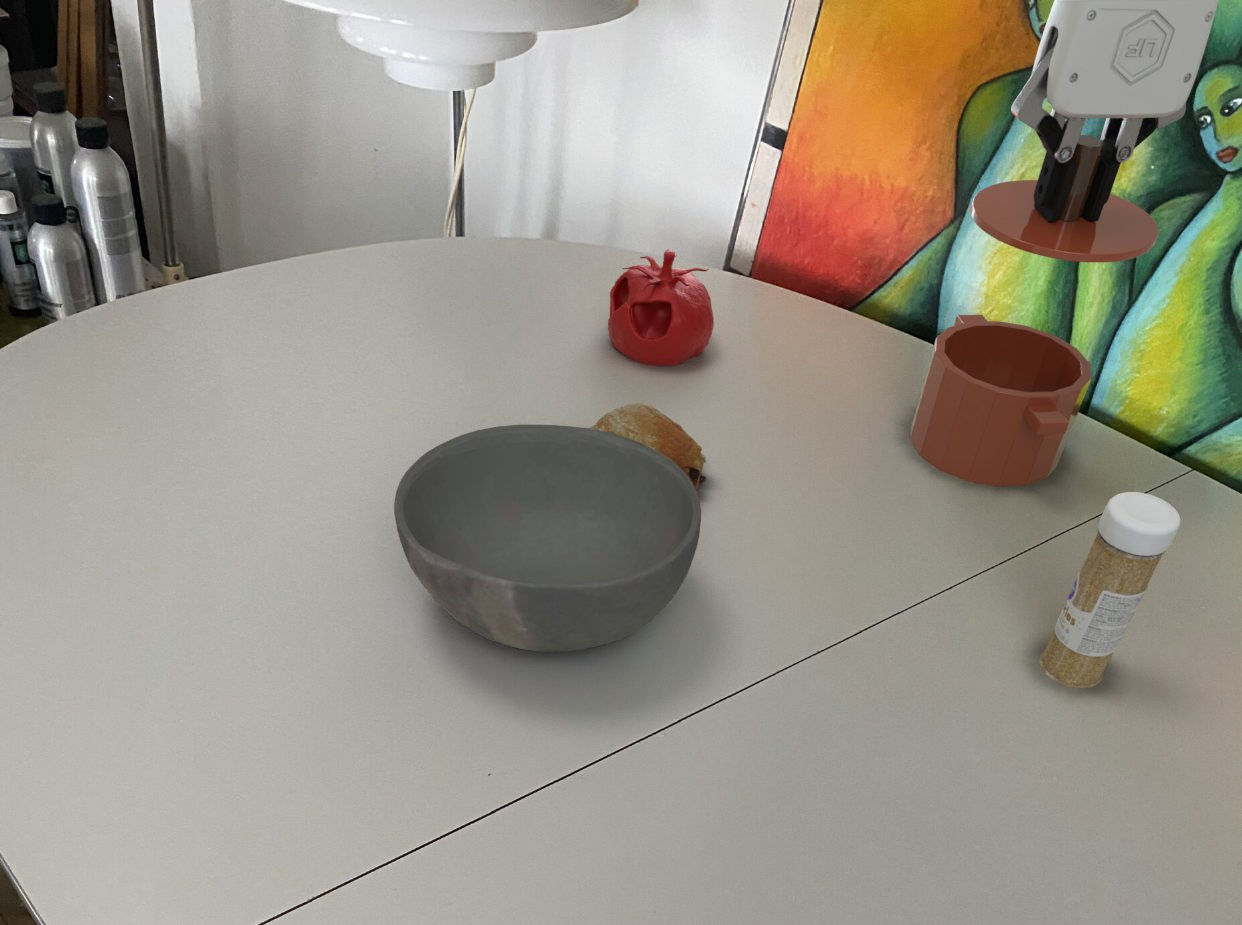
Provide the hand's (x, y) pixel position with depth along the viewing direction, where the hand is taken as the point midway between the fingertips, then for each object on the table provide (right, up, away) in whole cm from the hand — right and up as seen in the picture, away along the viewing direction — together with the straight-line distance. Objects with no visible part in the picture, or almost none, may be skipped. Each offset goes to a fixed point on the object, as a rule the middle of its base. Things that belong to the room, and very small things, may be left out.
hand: (1065, 212), depth 89 cm
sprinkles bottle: (-1, -35, -4) cm, 35 cm away
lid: (0, -1, +1) cm, 1 cm away
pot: (-1, -13, +15) cm, 20 cm away
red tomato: (-29, -1, +24) cm, 38 cm away
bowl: (-38, -31, -3) cm, 49 cm away
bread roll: (-31, -18, +9) cm, 37 cm away
